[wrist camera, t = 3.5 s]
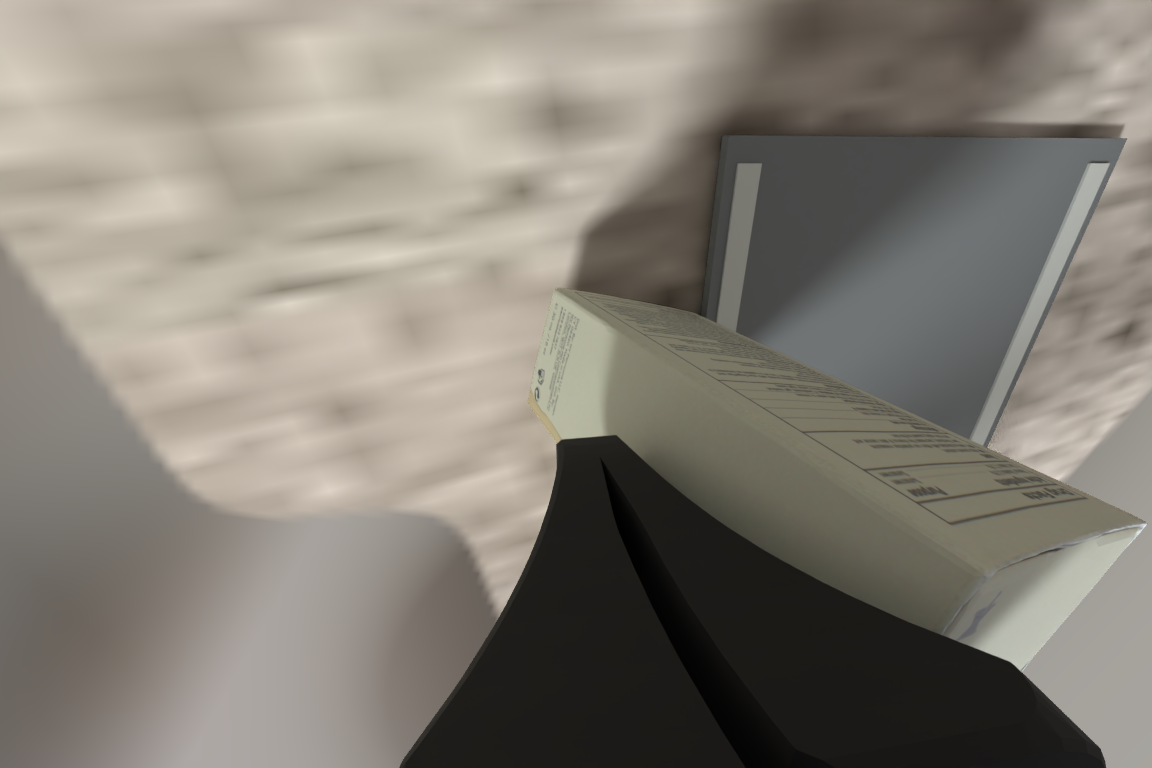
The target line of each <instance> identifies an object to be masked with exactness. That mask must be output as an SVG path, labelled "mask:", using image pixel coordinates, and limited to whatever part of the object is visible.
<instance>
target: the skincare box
mask: <svg viewBox="0 0 1152 768" xmlns="http://www.w3.org/2000/svg"><path fill="white" fill-rule="evenodd" d="M528 404H529V406H530V408H531V409H532V410H533V411H534V413H535V414H536V415H537V416H538V418H539V419H540V421H541V422H542V423H543V425H544V426H545V428H546V429H547V430H548V432H549V433H550V434H551V436H552V437H553V438H554V440H555V441H556V443H558V442H559V441H561V440H562V439H573V438H585V437H597V436H610V435H617V436H618V437H619V438H620V439H621V440H622V441H623V442H625V443H626V444H627V445H628V446H629V447H630V448H631V449H632V450H633V451H634V452H635V453H636V454H637V455H638V456H640V457H641V458H642V459H643V460H644V461H645V462H646V463H647V464H648V465H649V466H650V467H652V468H653V469H654V470H655V471H656V472H657V473H658V474H659V475H661V476H662V477H663V478H664V479H665V480H666V481H668V482H669V483H670V484H671V485H672V486H673V487H675V488H676V489H677V490H678V491H680V492H681V493H682V494H683V495H685V496H686V497H687V498H688V499H690V500H691V501H692V502H694V503H695V504H696V505H698V506H699V507H700V508H702V509H703V510H704V511H706V512H707V513H708V514H710V515H711V516H712V517H714V518H715V519H717V520H718V521H720V522H721V523H723V524H724V525H725V526H727V527H728V528H730V529H731V530H733V531H735V532H736V533H738V534H739V535H741V536H743V537H744V538H746V539H747V540H749V541H750V542H752V543H754V544H755V545H757V546H758V547H760V548H762V549H763V550H765V551H767V552H768V553H770V554H772V555H774V556H775V557H777V558H779V559H780V560H782V561H784V562H786V563H788V564H790V565H792V566H793V567H795V568H797V569H799V570H801V571H803V572H805V573H806V574H808V575H810V576H812V577H814V578H816V579H818V580H820V581H822V582H823V583H825V584H828V585H830V586H832V587H834V588H836V589H838V590H840V591H842V592H844V593H846V594H848V595H850V596H852V597H854V598H856V599H859V600H861V601H863V602H865V603H868V604H870V605H872V606H874V607H876V608H879V609H881V610H883V611H885V612H887V613H890V614H892V615H894V616H896V617H898V618H901V619H903V620H905V621H908V622H910V623H912V624H915V625H918V626H920V627H923V628H925V629H928V630H930V631H933V632H935V633H938V634H941V635H943V636H946V637H948V638H951V639H953V640H956V641H958V642H961V643H963V644H966V645H969V646H971V647H974V648H976V649H979V650H981V651H984V652H986V653H989V654H992V655H994V656H997V657H999V658H1002V659H1004V660H1007V661H1009V662H1011V663H1012V664H1013V665H1015V666H1016V667H1017V668H1018V669H1019V670H1020V671H1021V672H1022V671H1023V670H1024V668H1025V667H1026V666H1027V665H1028V663H1029V662H1030V661H1031V659H1032V658H1033V657H1034V656H1035V654H1036V653H1037V652H1038V651H1039V650H1040V649H1041V648H1042V647H1043V645H1044V644H1045V643H1046V642H1047V641H1048V639H1049V638H1050V637H1051V636H1052V635H1053V634H1054V632H1055V631H1056V630H1057V629H1058V628H1059V627H1060V626H1061V624H1062V623H1063V622H1064V621H1065V620H1066V618H1067V617H1068V616H1069V615H1070V614H1071V613H1072V611H1073V610H1074V609H1075V608H1076V607H1077V606H1078V604H1079V603H1080V602H1081V601H1082V600H1083V599H1084V597H1085V596H1086V595H1087V594H1088V593H1089V592H1090V590H1091V589H1092V588H1093V587H1094V586H1095V585H1096V583H1097V582H1098V581H1099V580H1100V578H1101V577H1102V576H1103V575H1104V574H1105V572H1106V571H1107V570H1108V569H1109V567H1110V566H1111V565H1112V564H1113V563H1114V561H1115V560H1116V559H1117V558H1118V557H1119V555H1120V554H1121V553H1122V552H1123V550H1124V549H1125V548H1126V547H1127V546H1128V545H1129V544H1130V543H1131V542H1132V541H1133V540H1134V539H1135V538H1136V537H1137V536H1138V535H1139V533H1140V532H1141V531H1142V530H1143V529H1144V527H1145V526H1146V525H1147V523H1146V522H1145V521H1143V520H1141V519H1139V518H1137V517H1135V516H1133V515H1132V514H1129V513H1127V512H1125V511H1123V510H1121V509H1119V508H1116V507H1114V506H1112V505H1110V504H1108V503H1105V502H1103V501H1101V500H1099V499H1097V498H1095V497H1093V496H1091V495H1089V494H1086V493H1084V492H1082V491H1080V490H1078V489H1075V488H1073V487H1071V486H1069V485H1066V484H1064V483H1062V482H1060V481H1058V480H1056V479H1053V478H1051V477H1049V476H1047V475H1045V474H1043V473H1040V472H1038V471H1036V470H1034V469H1032V468H1029V467H1027V466H1025V465H1023V464H1021V463H1018V462H1016V461H1014V460H1012V459H1010V458H1008V457H1005V456H1003V455H1001V454H999V453H997V452H995V451H993V450H990V449H988V448H986V447H984V446H982V445H980V444H978V443H976V442H973V441H971V440H969V439H967V438H965V437H962V436H960V435H958V434H956V433H954V432H951V431H949V430H947V429H945V428H943V427H940V426H938V425H936V424H934V423H932V422H930V421H928V420H925V419H923V418H921V417H919V416H917V415H915V414H913V413H910V412H908V411H906V410H904V409H902V408H899V407H897V406H895V405H893V404H891V403H888V402H886V401H884V400H882V399H880V398H878V397H875V396H873V395H871V394H869V393H867V392H864V391H862V390H860V389H858V388H856V387H854V386H851V385H849V384H847V383H845V382H843V381H841V380H838V379H836V378H834V377H832V376H830V375H828V374H826V373H823V372H821V371H819V370H817V369H815V368H813V367H810V366H808V365H806V364H804V363H802V362H800V361H797V360H795V359H793V358H791V357H789V356H787V355H784V354H782V353H780V352H778V351H776V350H774V349H771V348H769V347H767V346H765V345H763V344H761V343H758V342H756V341H754V340H752V339H750V338H748V337H746V336H743V335H741V334H739V333H737V332H735V331H733V330H730V329H728V328H726V327H724V326H722V325H720V324H717V323H715V322H713V321H711V320H709V319H707V318H704V317H702V316H700V315H698V314H696V313H693V312H689V311H684V310H680V309H675V308H670V307H666V306H661V305H656V304H651V303H646V302H641V301H636V300H630V299H624V298H619V297H614V296H608V295H602V294H596V293H591V292H584V291H577V290H571V289H565V288H557V289H555V291H554V293H553V296H552V301H551V305H550V309H549V312H548V316H547V320H546V324H545V328H544V332H543V336H542V341H541V344H540V349H539V353H538V357H537V361H536V366H535V370H534V375H533V379H532V384H531V389H530V394H529V398H528Z"/></svg>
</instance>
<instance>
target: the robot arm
mask: <svg viewBox="0 0 1152 768" xmlns="http://www.w3.org/2000/svg"><path fill="white" fill-rule="evenodd" d="M556 449H557V471H556V477H555V482H554V486H553V490H552V494H551V499H550V502H549V506H548V509H547V512H546V515H545V518H544V520H543V523H542V526H541V529H540V532H539V535H538V538H537V540H536V543H535V545H534V548H533V550H532V552H531V555H530V557H529V559H528V561H527V564H526V566H525V568H524V570H523V572H522V575H521V577H520V579H519V581H518V583H517V585H516V586H515V588H514V590H513V592H512V594H511V596H510V598H509V600H508V602H507V604H506V606H505V608H504V610H503V611H502V613H501V615H500V617H499V619H498V620H497V622H496V624H495V625H494V627H493V629H492V630H491V632H490V634H489V635H488V637H487V638H486V640H485V642H484V643H483V645H482V647H481V648H480V650H479V651H478V653H477V655H476V656H475V658H474V659H473V661H472V663H471V664H470V666H469V667H468V669H467V671H466V672H465V674H464V675H463V677H462V678H461V680H460V681H459V683H458V684H457V686H456V687H455V689H454V690H453V692H452V693H451V694H450V696H449V697H448V698H447V700H446V701H445V703H444V704H443V706H442V707H441V708H440V709H439V711H438V712H437V714H436V715H435V716H434V718H433V719H432V721H431V722H430V723H429V725H428V726H427V727H426V729H425V730H424V732H423V733H422V734H421V736H420V737H419V739H418V740H417V741H416V743H415V744H414V745H413V747H412V749H411V750H410V751H409V753H408V754H407V755H406V756H405V758H404V759H403V761H402V763H401V765H400V768H1106V764H1105V760H1104V757H1103V754H1102V752H1101V749H1100V748H1099V747H1098V746H1097V745H1096V744H1095V743H1094V742H1093V741H1092V740H1091V739H1090V738H1089V737H1088V736H1087V735H1086V734H1085V733H1084V732H1083V731H1082V730H1081V729H1080V728H1079V727H1078V726H1077V725H1075V724H1074V723H1073V722H1072V721H1071V720H1070V719H1069V718H1068V717H1067V716H1066V715H1065V714H1064V713H1063V712H1062V711H1061V710H1060V709H1059V708H1058V707H1057V706H1056V705H1055V704H1054V703H1053V702H1052V701H1051V700H1050V699H1049V698H1048V697H1047V696H1046V695H1045V694H1044V693H1043V692H1042V691H1041V690H1040V689H1039V688H1037V687H1036V686H1035V685H1034V684H1033V683H1032V682H1031V681H1030V680H1029V679H1028V678H1027V677H1026V676H1025V675H1024V674H1023V673H1022V672H1021V671H1020V670H1019V669H1018V668H1017V667H1016V666H1015V665H1013V664H1012V663H1011V662H1009V661H1007V660H1004V659H1002V658H999V657H997V656H994V655H992V654H989V653H986V652H984V651H981V650H979V649H976V648H974V647H971V646H969V645H966V644H963V643H961V642H958V641H956V640H953V639H951V638H948V637H946V636H943V635H941V634H938V633H935V632H933V631H930V630H928V629H925V628H923V627H920V626H918V625H915V624H912V623H910V622H908V621H905V620H903V619H901V618H898V617H896V616H894V615H892V614H890V613H887V612H885V611H883V610H881V609H879V608H876V607H874V606H872V605H870V604H868V603H865V602H863V601H861V600H859V599H856V598H854V597H852V596H850V595H848V594H846V593H844V592H842V591H840V590H838V589H836V588H834V587H832V586H830V585H828V584H825V583H823V582H822V581H820V580H818V579H816V578H814V577H812V576H810V575H808V574H806V573H805V572H803V571H801V570H799V569H797V568H795V567H793V566H792V565H790V564H788V563H786V562H784V561H782V560H780V559H779V558H777V557H775V556H774V555H772V554H770V553H768V552H767V551H765V550H763V549H762V548H760V547H758V546H757V545H755V544H754V543H752V542H750V541H749V540H747V539H746V538H744V537H743V536H741V535H739V534H738V533H736V532H735V531H733V530H731V529H730V528H728V527H727V526H725V525H724V524H723V523H721V522H720V521H718V520H717V519H715V518H714V517H712V516H711V515H710V514H708V513H707V512H706V511H704V510H703V509H702V508H700V507H699V506H698V505H696V504H695V503H694V502H692V501H691V500H690V499H688V498H687V497H686V496H685V495H683V494H682V493H681V492H680V491H678V490H677V489H676V488H675V487H673V486H672V485H671V484H670V483H669V482H668V481H666V480H665V479H664V478H663V477H662V476H661V475H659V474H658V473H657V472H656V471H655V470H654V469H653V468H652V467H650V466H649V465H648V464H647V463H646V462H645V461H644V460H643V459H642V458H641V457H640V456H638V455H637V454H636V453H635V452H634V451H633V450H632V449H631V448H630V447H629V446H628V445H627V444H626V443H625V442H623V441H622V440H621V439H620V438H619V437H618V436H617V435H610V436H597V437H585V438H573V439H562V440H561V441H559V442H558V443H557V444H556Z"/></svg>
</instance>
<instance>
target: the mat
mask: <svg viewBox="0 0 1152 768" xmlns="http://www.w3.org/2000/svg"><path fill="white" fill-rule="evenodd" d="M1126 140H1127V138H1010V137H888V136H766V135H727V136H722V142H721V150H720V159H719V167H718V175H717V184H716V192H715V200H714V209H713V217H712V226H711V234H710V242H709V251H708V259H707V267H706V276H705V284H704V292H703V301H702V309H701V316H702V317H704V318H707V319H709V320H711V321H713V322H715V323H717V324H720V325H722V326H724V327H726V328H728V329H730V330H733V331H735V332H737V333H739V334H741V335H743V336H746V337H748V338H750V339H752V340H754V341H756V342H758V343H761V344H763V345H765V346H767V347H769V348H771V349H774V350H776V351H778V352H780V353H782V354H784V355H787V356H789V357H791V358H793V359H795V360H797V361H800V362H802V363H804V364H806V365H808V366H810V367H813V368H815V369H817V370H819V371H821V372H823V373H826V374H828V375H830V376H832V377H834V378H836V379H838V380H841V381H843V382H845V383H847V384H849V385H851V386H854V387H856V388H858V389H860V390H862V391H864V392H867V393H869V394H871V395H873V396H875V397H878V398H880V399H882V400H884V401H886V402H888V403H891V404H893V405H895V406H897V407H899V408H902V409H904V410H906V411H908V412H910V413H913V414H915V415H917V416H919V417H921V418H923V419H925V420H928V421H930V422H932V423H934V424H936V425H938V426H940V427H943V428H945V429H947V430H949V431H951V432H954V433H956V434H958V435H960V436H962V437H965V438H967V439H969V440H971V441H973V442H976V443H978V444H980V445H982V446H984V447H986V448H987V446H988V443H989V441H990V439H991V437H992V435H993V432H994V430H995V428H996V426H997V424H998V421H999V419H1000V417H1001V415H1002V413H1003V410H1004V408H1005V406H1006V404H1007V402H1008V400H1009V397H1010V395H1011V393H1012V391H1013V389H1014V386H1015V384H1016V382H1017V380H1018V378H1019V375H1020V373H1021V371H1022V369H1023V367H1024V364H1025V362H1026V360H1027V358H1028V356H1029V353H1030V351H1031V349H1032V347H1033V345H1034V342H1035V340H1036V338H1037V336H1038V334H1039V331H1040V329H1041V327H1042V325H1043V323H1044V320H1045V318H1046V316H1047V314H1048V312H1049V309H1050V307H1051V305H1052V303H1053V301H1054V298H1055V296H1056V294H1057V292H1058V290H1059V287H1060V285H1061V283H1062V281H1063V279H1064V276H1065V274H1066V272H1067V270H1068V268H1069V265H1070V263H1071V261H1072V259H1073V257H1074V255H1075V252H1076V250H1077V248H1078V246H1079V244H1080V241H1081V239H1082V237H1083V235H1084V233H1085V230H1086V228H1087V226H1088V224H1089V222H1090V219H1091V217H1092V215H1093V213H1094V211H1095V208H1096V206H1097V204H1098V202H1099V200H1100V197H1101V195H1102V193H1103V191H1104V189H1105V186H1106V184H1107V182H1108V180H1109V178H1110V175H1111V173H1112V171H1113V169H1114V167H1115V164H1116V162H1117V160H1118V158H1119V156H1120V153H1121V151H1122V149H1123V147H1124V145H1125V142H1126Z"/></svg>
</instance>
